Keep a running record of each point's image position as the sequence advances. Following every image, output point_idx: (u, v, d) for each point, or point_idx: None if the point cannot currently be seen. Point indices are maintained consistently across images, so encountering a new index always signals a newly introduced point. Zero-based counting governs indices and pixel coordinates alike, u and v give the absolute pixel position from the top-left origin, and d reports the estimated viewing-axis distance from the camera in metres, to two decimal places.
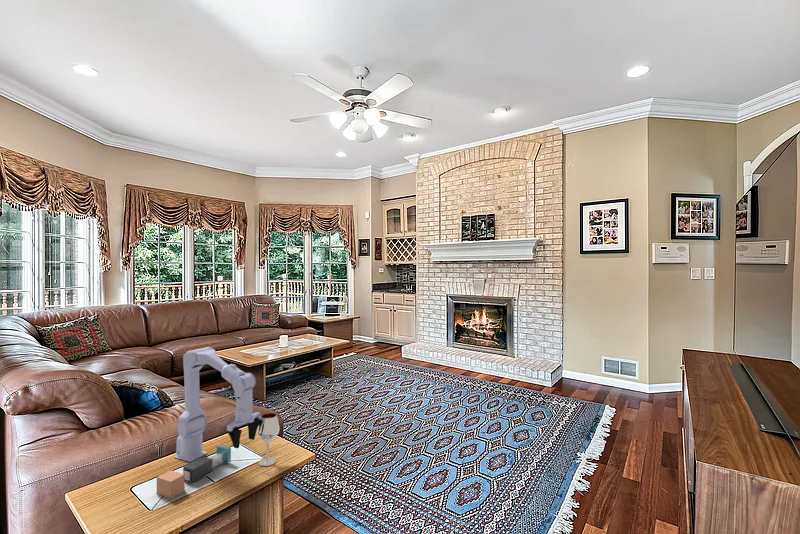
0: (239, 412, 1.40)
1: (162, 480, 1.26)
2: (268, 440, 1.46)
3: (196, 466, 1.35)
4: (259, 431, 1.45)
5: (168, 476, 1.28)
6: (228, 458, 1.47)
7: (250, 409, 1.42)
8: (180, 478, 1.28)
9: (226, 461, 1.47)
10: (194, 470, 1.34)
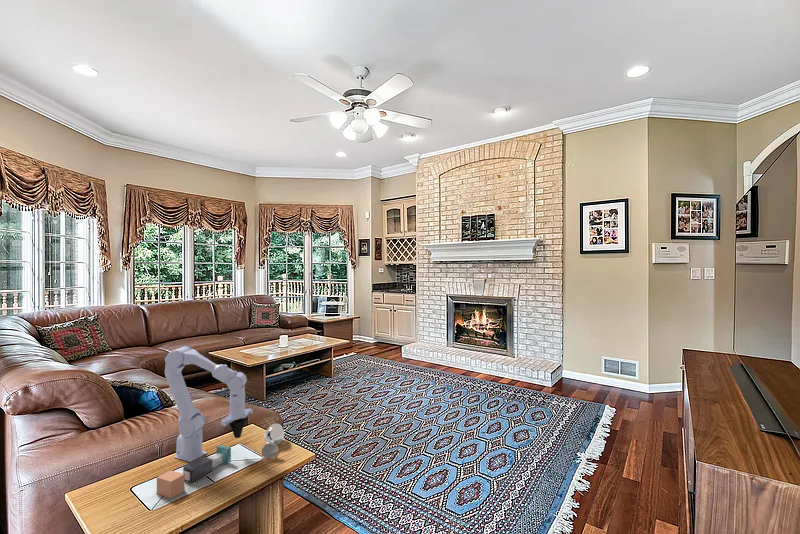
0: (232, 408, 1.52)
1: (162, 480, 1.26)
2: (275, 434, 1.60)
3: (196, 466, 1.35)
4: (269, 427, 1.63)
5: (168, 476, 1.28)
6: (228, 458, 1.47)
7: (243, 406, 1.54)
8: (180, 478, 1.28)
9: (226, 461, 1.47)
10: (194, 470, 1.34)
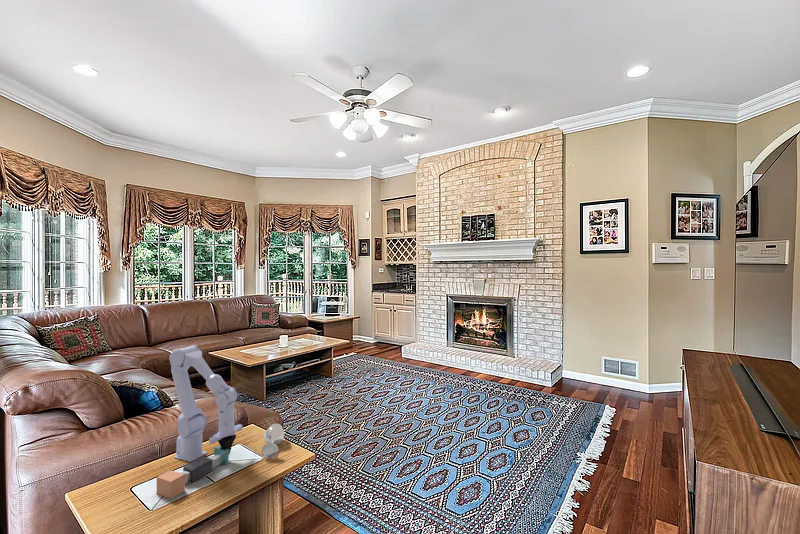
0: (221, 425, 1.47)
1: (162, 480, 1.26)
2: (275, 434, 1.60)
3: (196, 466, 1.35)
4: (269, 427, 1.63)
5: (168, 476, 1.28)
6: (226, 459, 1.46)
7: (232, 422, 1.49)
8: (180, 478, 1.28)
9: (224, 462, 1.46)
10: (194, 470, 1.34)
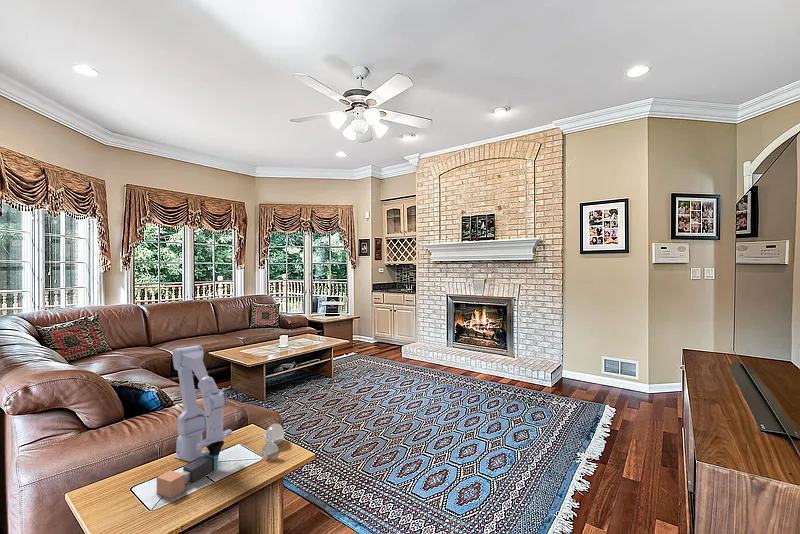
0: (209, 431, 1.42)
1: (162, 480, 1.26)
2: (275, 434, 1.60)
3: (196, 466, 1.35)
4: (269, 427, 1.63)
5: (168, 476, 1.28)
6: (214, 466, 1.41)
7: (220, 427, 1.44)
8: (180, 478, 1.28)
9: (212, 469, 1.41)
10: (194, 470, 1.34)
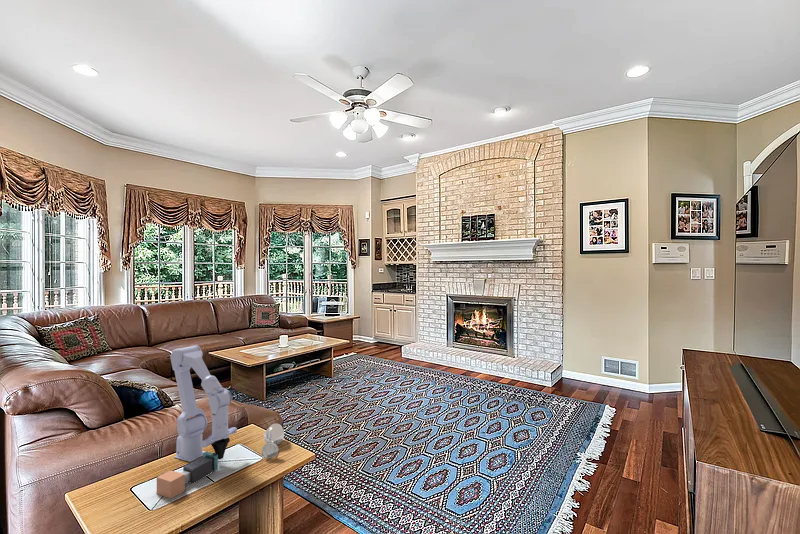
0: (214, 428, 1.44)
1: (162, 480, 1.26)
2: (275, 434, 1.60)
3: (196, 466, 1.35)
4: (269, 427, 1.63)
5: (168, 476, 1.28)
6: (215, 465, 1.41)
7: (225, 425, 1.46)
8: (180, 478, 1.28)
9: (213, 468, 1.41)
10: (194, 470, 1.34)
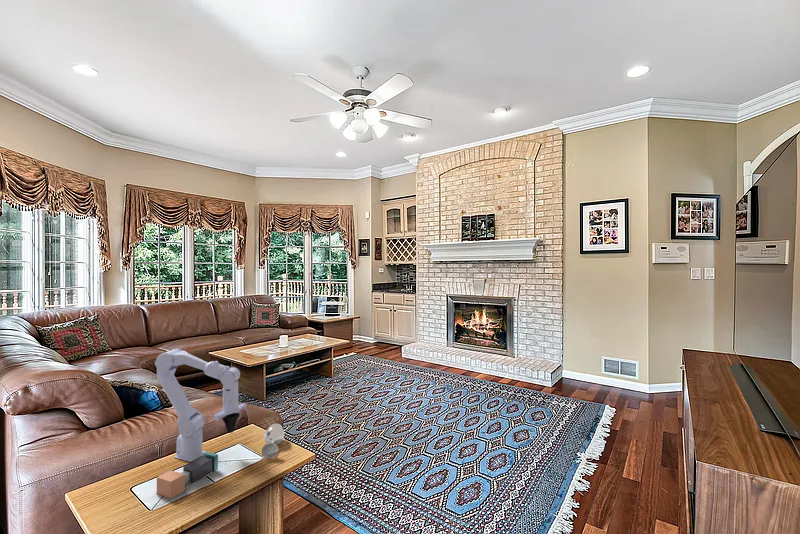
0: (225, 403, 1.52)
1: (162, 480, 1.26)
2: (275, 434, 1.60)
3: (196, 466, 1.35)
4: (269, 427, 1.63)
5: (168, 476, 1.28)
6: (215, 465, 1.41)
7: (236, 400, 1.54)
8: (180, 478, 1.28)
9: (213, 468, 1.41)
10: (194, 470, 1.34)
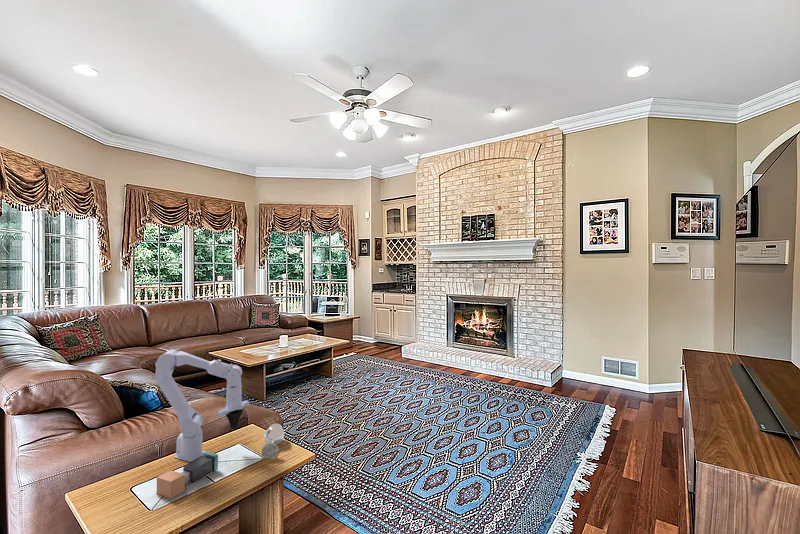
0: (229, 400, 1.55)
1: (162, 480, 1.26)
2: (275, 434, 1.60)
3: (196, 466, 1.35)
4: (269, 427, 1.63)
5: (168, 476, 1.28)
6: (215, 465, 1.41)
7: (239, 397, 1.57)
8: (180, 478, 1.28)
9: (213, 468, 1.41)
10: (194, 470, 1.34)
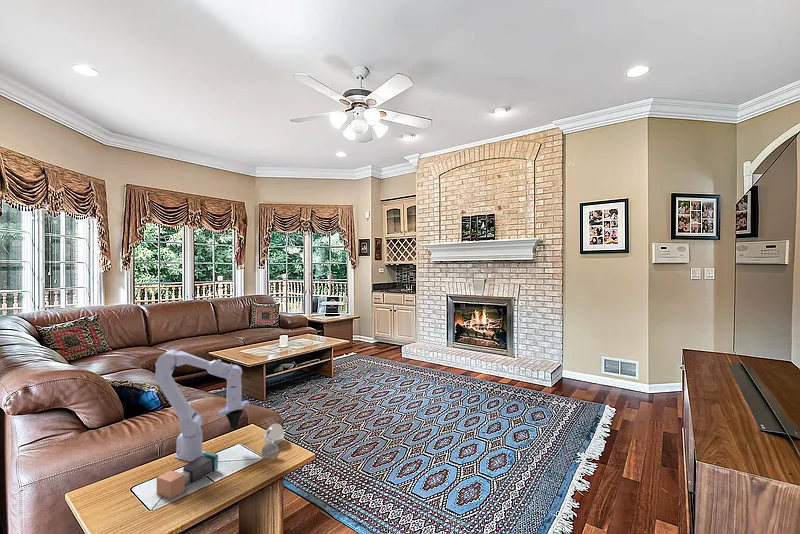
0: (229, 400, 1.55)
1: (162, 480, 1.26)
2: (275, 434, 1.60)
3: (196, 466, 1.35)
4: (269, 427, 1.63)
5: (168, 476, 1.28)
6: (215, 465, 1.41)
7: (239, 397, 1.57)
8: (180, 478, 1.28)
9: (213, 468, 1.41)
10: (194, 470, 1.34)
